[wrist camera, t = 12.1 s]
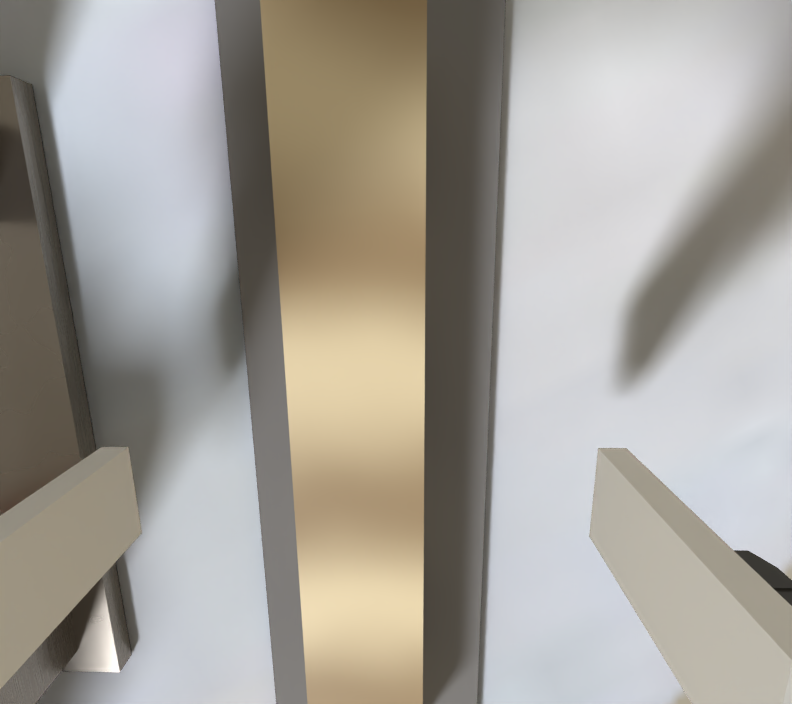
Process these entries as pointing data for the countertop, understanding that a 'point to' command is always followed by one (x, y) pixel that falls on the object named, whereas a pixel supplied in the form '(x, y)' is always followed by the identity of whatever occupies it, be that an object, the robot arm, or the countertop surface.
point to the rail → (353, 330)
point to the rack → (43, 390)
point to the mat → (444, 330)
